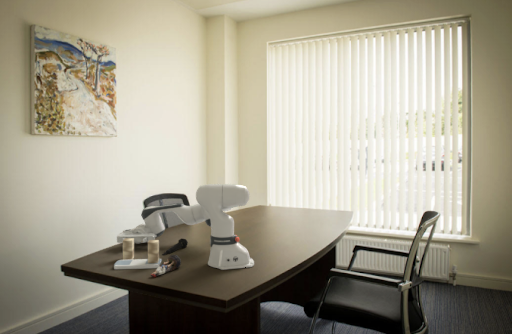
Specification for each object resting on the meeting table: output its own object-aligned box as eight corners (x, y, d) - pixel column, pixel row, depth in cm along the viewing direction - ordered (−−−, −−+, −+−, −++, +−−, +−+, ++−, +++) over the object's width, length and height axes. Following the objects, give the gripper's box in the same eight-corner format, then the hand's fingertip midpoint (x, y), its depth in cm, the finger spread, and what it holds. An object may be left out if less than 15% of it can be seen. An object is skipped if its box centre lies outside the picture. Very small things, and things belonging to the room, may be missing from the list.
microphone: (165, 261, 195) (188, 248, 213) (167, 252, 193) (190, 239, 211) (157, 257, 197) (181, 244, 215) (159, 248, 195) (182, 235, 213)
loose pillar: (134, 257, 191) (133, 238, 191) (132, 260, 187) (132, 240, 186) (124, 257, 191) (124, 238, 190) (122, 260, 186) (122, 240, 186)
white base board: (162, 261, 185) (162, 258, 185) (159, 268, 175) (159, 264, 175) (118, 262, 182) (118, 259, 182) (113, 269, 172) (112, 266, 172)
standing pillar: (158, 260, 182) (158, 239, 181) (157, 263, 177) (157, 242, 177) (149, 260, 181) (149, 240, 181) (147, 263, 177) (147, 242, 176)
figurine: (182, 252, 175) (152, 266, 160) (186, 266, 175) (156, 281, 160) (171, 253, 179) (141, 267, 164) (175, 267, 179) (145, 282, 164)
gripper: (157, 240, 216) (153, 246, 202) (120, 241, 213) (114, 247, 200) (157, 229, 215) (153, 235, 201) (120, 230, 213) (114, 235, 199)
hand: (133, 241), depth 200 cm, fingers open, 8 cm apart
